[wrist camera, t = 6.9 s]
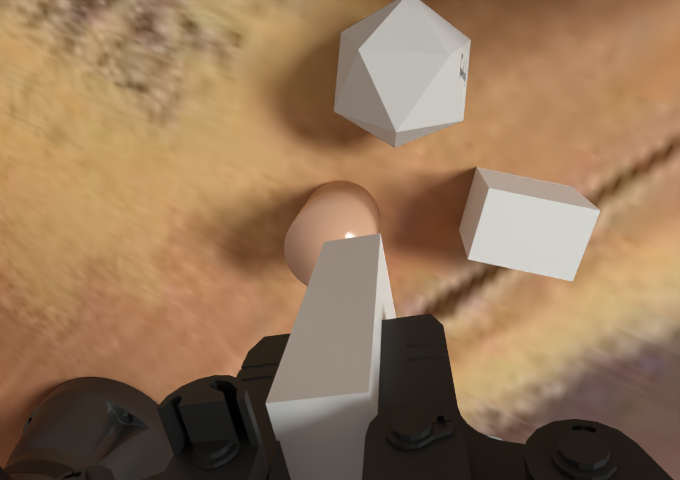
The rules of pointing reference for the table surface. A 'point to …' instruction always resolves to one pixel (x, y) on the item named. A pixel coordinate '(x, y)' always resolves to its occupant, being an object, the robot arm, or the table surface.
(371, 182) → the table surface
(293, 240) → the beige rounded smooth part
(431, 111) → the die
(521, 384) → the table surface
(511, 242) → the grey block
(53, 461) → the robot arm
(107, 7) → the table surface
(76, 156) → the table surface
